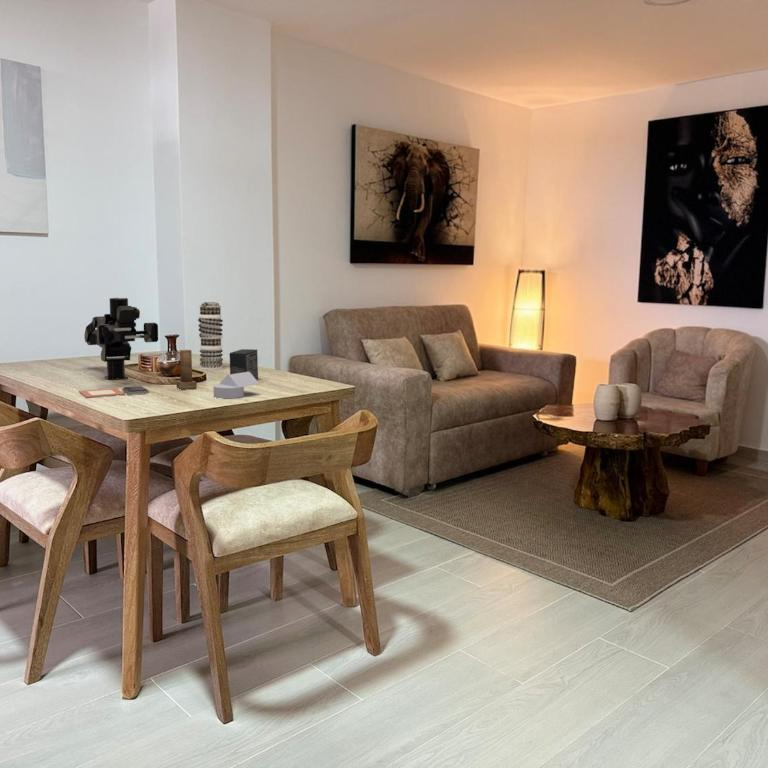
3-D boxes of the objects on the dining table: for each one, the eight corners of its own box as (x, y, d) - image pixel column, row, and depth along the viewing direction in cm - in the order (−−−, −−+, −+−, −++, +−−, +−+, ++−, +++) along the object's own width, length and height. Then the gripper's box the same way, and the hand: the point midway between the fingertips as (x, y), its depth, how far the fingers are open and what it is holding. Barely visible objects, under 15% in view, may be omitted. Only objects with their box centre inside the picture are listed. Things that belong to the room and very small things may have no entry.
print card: (79, 392, 224) (79, 390, 224) (116, 389, 230) (116, 388, 230) (86, 398, 215) (86, 396, 215) (124, 395, 221) (124, 393, 221)
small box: (241, 378, 256) (240, 348, 255) (258, 379, 255) (258, 349, 253) (229, 382, 246) (228, 352, 244) (247, 383, 245) (246, 353, 243)
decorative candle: (198, 370, 273) (197, 303, 268) (199, 366, 281) (197, 301, 277) (223, 369, 275) (222, 303, 271) (223, 366, 284) (222, 301, 279)
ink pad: (122, 391, 227) (122, 387, 227) (142, 389, 230) (141, 385, 230) (128, 395, 221) (128, 391, 220) (148, 393, 224) (148, 389, 224)
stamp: (176, 387, 235) (175, 350, 233) (191, 386, 237) (190, 349, 235) (181, 390, 231) (180, 351, 229) (196, 389, 233) (195, 351, 231)
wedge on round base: (239, 391, 232) (207, 396, 221) (239, 370, 231) (207, 374, 220) (259, 394, 226) (227, 400, 216) (259, 373, 225) (227, 378, 215)
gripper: (91, 306, 233) (103, 312, 221) (149, 305, 244) (165, 310, 231) (92, 340, 235) (105, 348, 223) (150, 338, 246) (165, 345, 233)
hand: (135, 337), depth 227 cm, fingers open, 9 cm apart
